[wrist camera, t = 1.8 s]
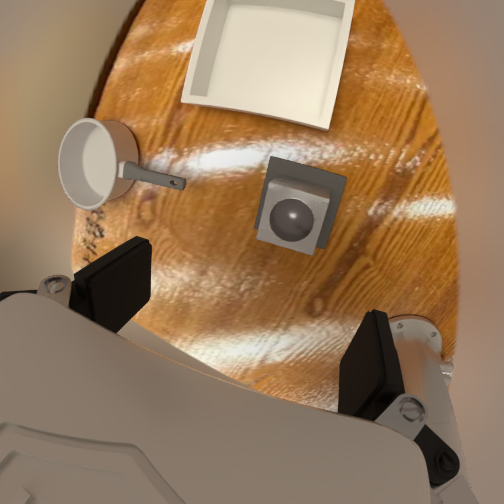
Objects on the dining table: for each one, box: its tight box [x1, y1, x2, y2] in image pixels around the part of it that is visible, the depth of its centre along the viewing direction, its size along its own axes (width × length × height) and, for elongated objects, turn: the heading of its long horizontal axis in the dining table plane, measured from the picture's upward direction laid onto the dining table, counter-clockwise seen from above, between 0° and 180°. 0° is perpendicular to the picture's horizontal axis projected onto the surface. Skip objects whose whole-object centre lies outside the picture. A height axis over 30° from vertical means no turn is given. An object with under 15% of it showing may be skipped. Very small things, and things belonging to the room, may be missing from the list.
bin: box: [181, 0, 355, 132], centre depth 22 cm, size 14×14×4 cm
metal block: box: [256, 174, 330, 256], centre depth 25 cm, size 5×5×7 cm
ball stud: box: [254, 156, 347, 249], centre depth 27 cm, size 8×8×4 cm
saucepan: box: [58, 118, 186, 210], centre depth 30 cm, size 12×20×6 cm, turn 78°
